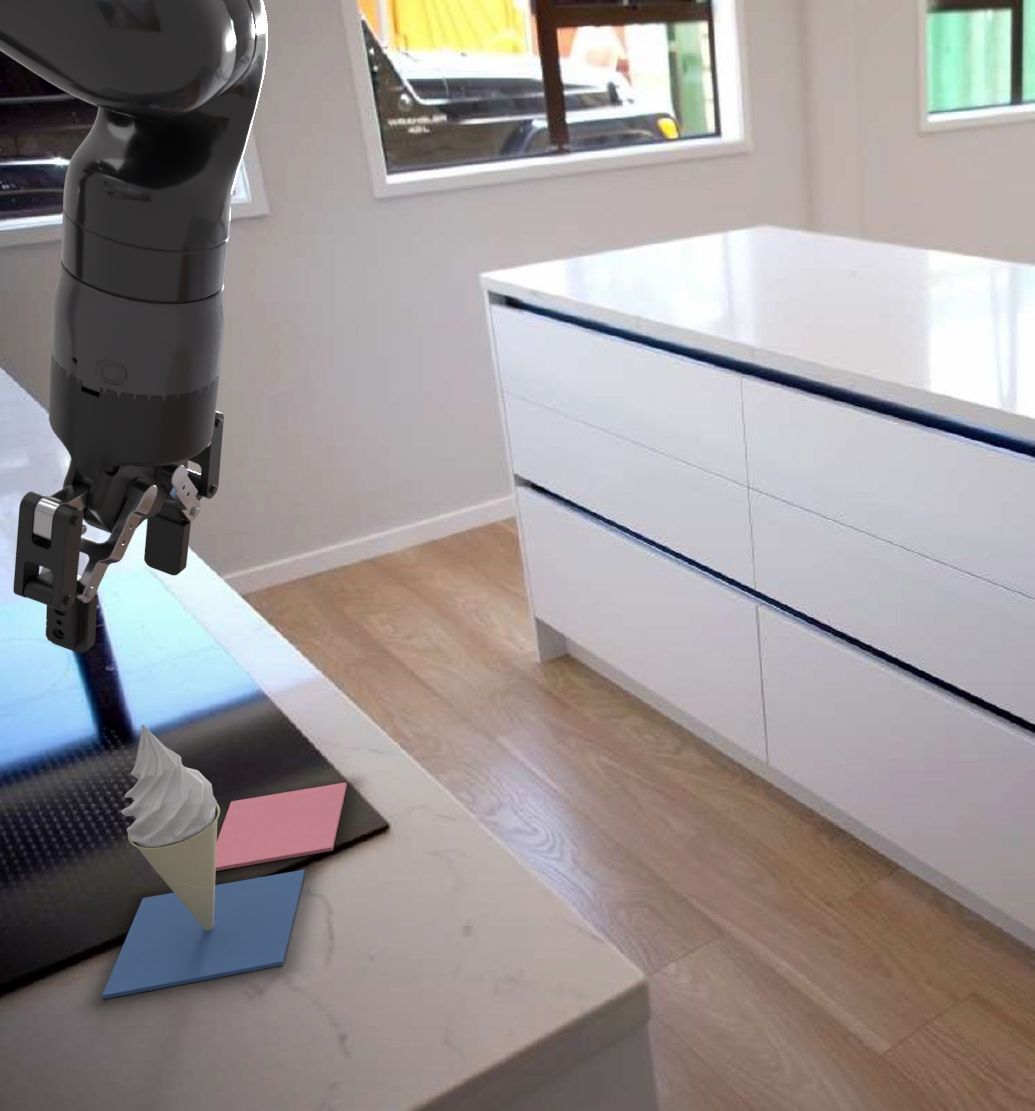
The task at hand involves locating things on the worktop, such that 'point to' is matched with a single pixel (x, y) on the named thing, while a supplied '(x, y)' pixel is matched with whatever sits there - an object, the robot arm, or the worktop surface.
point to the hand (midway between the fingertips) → (119, 605)
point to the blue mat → (207, 936)
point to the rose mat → (280, 826)
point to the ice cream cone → (175, 825)
